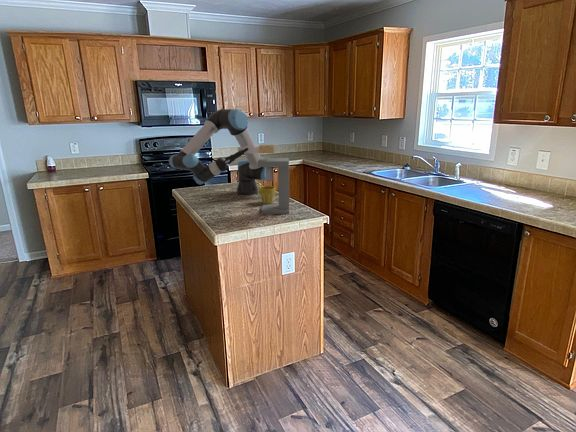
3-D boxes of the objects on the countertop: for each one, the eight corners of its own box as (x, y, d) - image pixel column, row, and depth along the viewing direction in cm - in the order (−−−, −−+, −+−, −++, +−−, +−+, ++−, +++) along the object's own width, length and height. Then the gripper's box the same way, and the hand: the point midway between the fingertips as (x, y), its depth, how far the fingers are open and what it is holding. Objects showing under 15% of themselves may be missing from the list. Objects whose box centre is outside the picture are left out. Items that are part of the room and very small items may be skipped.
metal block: (238, 152, 213) (238, 145, 212) (274, 151, 213) (273, 144, 212) (237, 153, 207) (237, 146, 206) (273, 153, 207) (273, 145, 206)
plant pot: (256, 203, 236) (256, 188, 233) (263, 199, 245) (263, 185, 242) (271, 205, 232) (271, 189, 229) (278, 201, 241) (277, 186, 238)
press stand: (261, 208, 226) (259, 158, 217) (289, 207, 226) (288, 158, 217) (259, 213, 215) (257, 161, 206) (289, 213, 214) (288, 161, 206)
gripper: (224, 169, 221) (258, 149, 218) (219, 174, 206) (255, 152, 202) (217, 158, 219) (251, 137, 216) (212, 163, 204) (248, 140, 200)
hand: (253, 145), depth 209 cm, fingers closed on metal block, 3 cm apart
